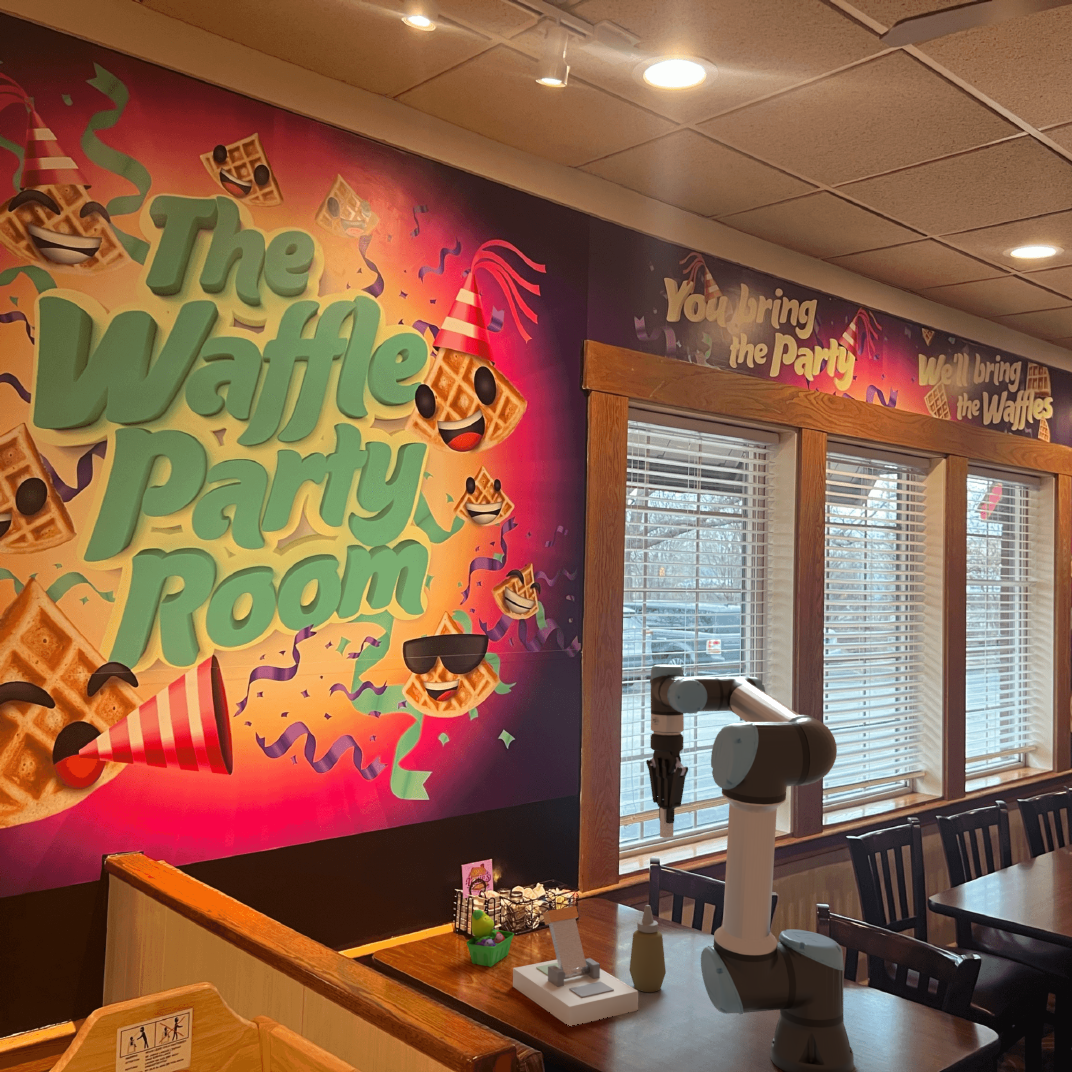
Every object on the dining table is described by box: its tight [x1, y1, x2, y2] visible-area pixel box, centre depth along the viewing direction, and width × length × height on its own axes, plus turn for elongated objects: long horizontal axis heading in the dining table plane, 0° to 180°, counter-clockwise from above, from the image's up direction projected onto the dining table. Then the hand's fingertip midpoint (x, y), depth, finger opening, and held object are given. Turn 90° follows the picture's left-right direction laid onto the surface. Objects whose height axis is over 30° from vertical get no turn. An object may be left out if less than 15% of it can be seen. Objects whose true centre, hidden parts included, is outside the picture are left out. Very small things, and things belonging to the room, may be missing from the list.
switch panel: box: [512, 957, 639, 1027], centre depth 221 cm, size 24×17×7 cm
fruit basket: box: [465, 909, 515, 968], centre depth 245 cm, size 11×9×11 cm
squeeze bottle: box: [629, 904, 667, 993], centre depth 228 cm, size 8×8×18 cm
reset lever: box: [542, 905, 590, 979], centre depth 224 cm, size 3×7×14 cm, turn 120°
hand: (666, 836), depth 233 cm, fingers closed
